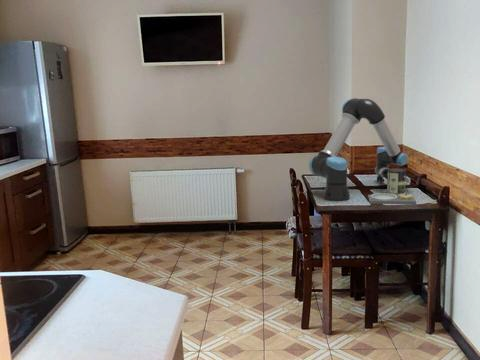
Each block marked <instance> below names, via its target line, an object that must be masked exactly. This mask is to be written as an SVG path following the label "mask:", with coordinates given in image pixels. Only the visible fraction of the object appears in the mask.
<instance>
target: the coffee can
mask: <svg viewBox="0 0 480 360" xmlns="http://www.w3.org/2000/svg"><path fill="white" fill-rule="evenodd" d="M406 172H407V169H406V168H400V167H398V168H396V167H394V168H392V167H391V168H389V169H388V181H387V184H386V185H387V186H386V188H387V189H386V190H387V191H386V193H388V194H393V195H399V194H405V193H406V181H405V175H407V173H406Z"/></svg>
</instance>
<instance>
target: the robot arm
mask: <svg viewBox="0 0 480 360" xmlns="http://www.w3.org/2000/svg"><path fill="white" fill-rule="evenodd" d="M341 112H342V114H341V117H342V118H341V120H340V121H339V123H338V125H337V126H336V128H335V130H334V132H333V133H332V135H331V137H330V138H329V140H328V141H327V143H326V145H325V146H324V149H321V150H320V151H319V152H318V153H317V155H314V156H312V157H311V158H310V160H309V163H308V167H309V171H310V173H311V174H313V175H315V176H316V177H321V178H325V179H326V183H325V188H324V192H323V195H322V197H323V199H324V200H327V201H332V202H333V201H334V202H343V201H348V200H350V198H351V197H350V196H351V193H350V190H349V188H348V161H347V160H346V158H343V157H339V156H338V154H339V153H340V150H341V149H342V147H343V146H344V144H345V142H346V141H347V139H348V137H349V135H350V134H351V132H352V130H353V129H354V127H355V126H356V125H358V124H359V123H360V122H361V120H362V119H364V120H367V122H368V124H369V125H372V127H373V128H374V130H375V133H376V134H377V136H378V137H379V140H380V141H381V143H382V145H383V146H378V147H377V149H376V166H375V168H374V172H375V174H376V176H377V177H376V182H379V183H380V184H385V185H387V182H388V169H390V168H389V164H391V165H396V166H405V165H407V163H408V161H409V156H408V155H407V154H406V153H404V152H402V151H401V149H400V147H399V145H398V143H397V141H396V139H395V137H394V135H393V133H392V131H391V129H390V126H389V125H388V122H386V119H385V118H386V115H385V113H384V112H383V110H382V109H381V107H380V106H379V105H378V104H377V102H375V101H374V100H373V99H370V98H358V97H357V98H356V97H354V98H349V99H347V100H346V101H345V102H344V103H343V105H342V107H341ZM411 179H412V176H411V175H409V174H406V175H405V183H408V184H411Z"/></svg>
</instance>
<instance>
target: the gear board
mask: <svg viewBox="0 0 480 360" xmlns="http://www.w3.org/2000/svg"><path fill="white" fill-rule="evenodd" d="M367 198H368V201H369V204H370V205H371V204H373V205H375V204H377V205H378V204H380V205H383V204H384V205H387V204H388V205H416V204H417V201H416V199H415V198H414V195H413V194H410V193H409V194H408V193H407V192H405V194H399V195H393V194H388V193H387V192H383V193H381V192H378V193H372V194H368V195H367Z"/></svg>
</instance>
